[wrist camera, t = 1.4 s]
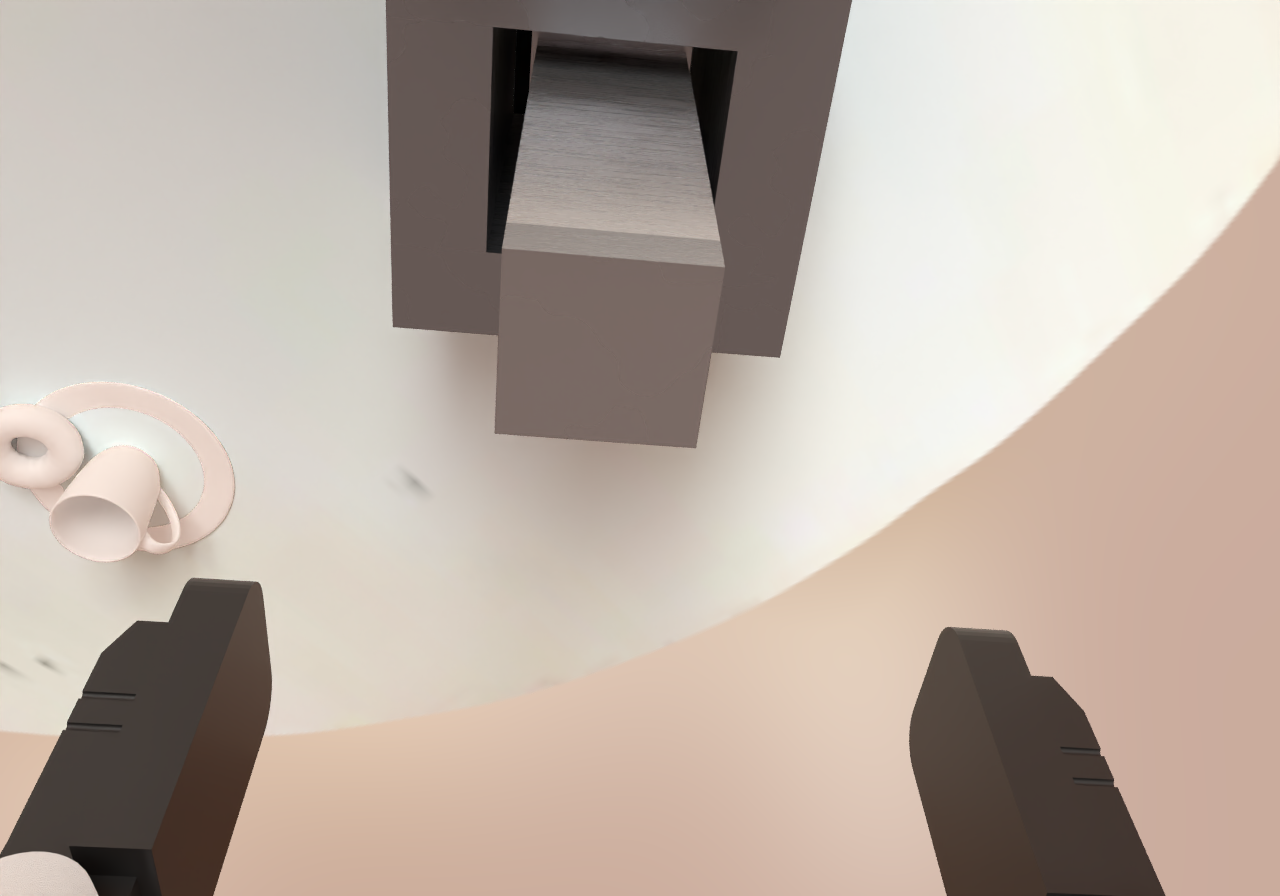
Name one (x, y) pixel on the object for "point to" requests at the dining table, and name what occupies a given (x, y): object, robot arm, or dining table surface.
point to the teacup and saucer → (110, 473)
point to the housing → (491, 132)
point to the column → (608, 249)
